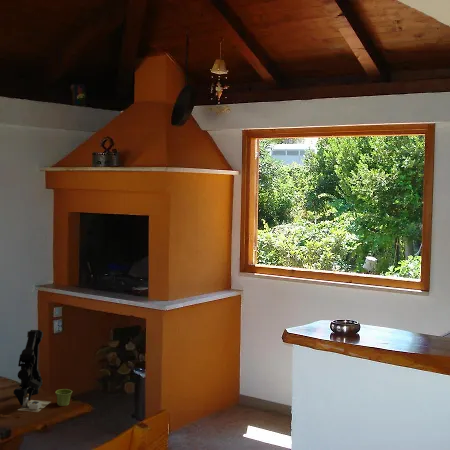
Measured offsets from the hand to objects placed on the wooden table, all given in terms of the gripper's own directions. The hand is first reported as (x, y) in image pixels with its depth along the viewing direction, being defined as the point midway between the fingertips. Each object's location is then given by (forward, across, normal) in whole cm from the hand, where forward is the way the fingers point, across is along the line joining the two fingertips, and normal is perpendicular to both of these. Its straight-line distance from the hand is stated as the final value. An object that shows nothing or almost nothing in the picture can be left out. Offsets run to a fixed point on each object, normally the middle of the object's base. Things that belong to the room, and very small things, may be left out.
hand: (25, 402), depth 343 cm
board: (+4, +4, -4) cm, 7 cm away
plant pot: (+4, +10, -18) cm, 21 cm away
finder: (+2, 0, -6) cm, 7 cm away
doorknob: (+2, 0, 0) cm, 2 cm away
